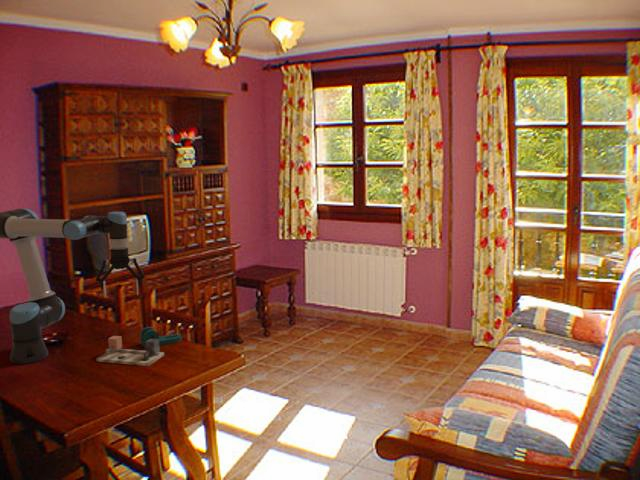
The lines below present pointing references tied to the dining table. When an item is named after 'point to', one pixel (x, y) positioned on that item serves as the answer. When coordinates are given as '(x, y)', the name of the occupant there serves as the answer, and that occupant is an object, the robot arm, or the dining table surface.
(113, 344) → the block
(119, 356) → the gauge board
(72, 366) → the dining table surface
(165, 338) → the teal curved handle
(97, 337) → the dining table surface
